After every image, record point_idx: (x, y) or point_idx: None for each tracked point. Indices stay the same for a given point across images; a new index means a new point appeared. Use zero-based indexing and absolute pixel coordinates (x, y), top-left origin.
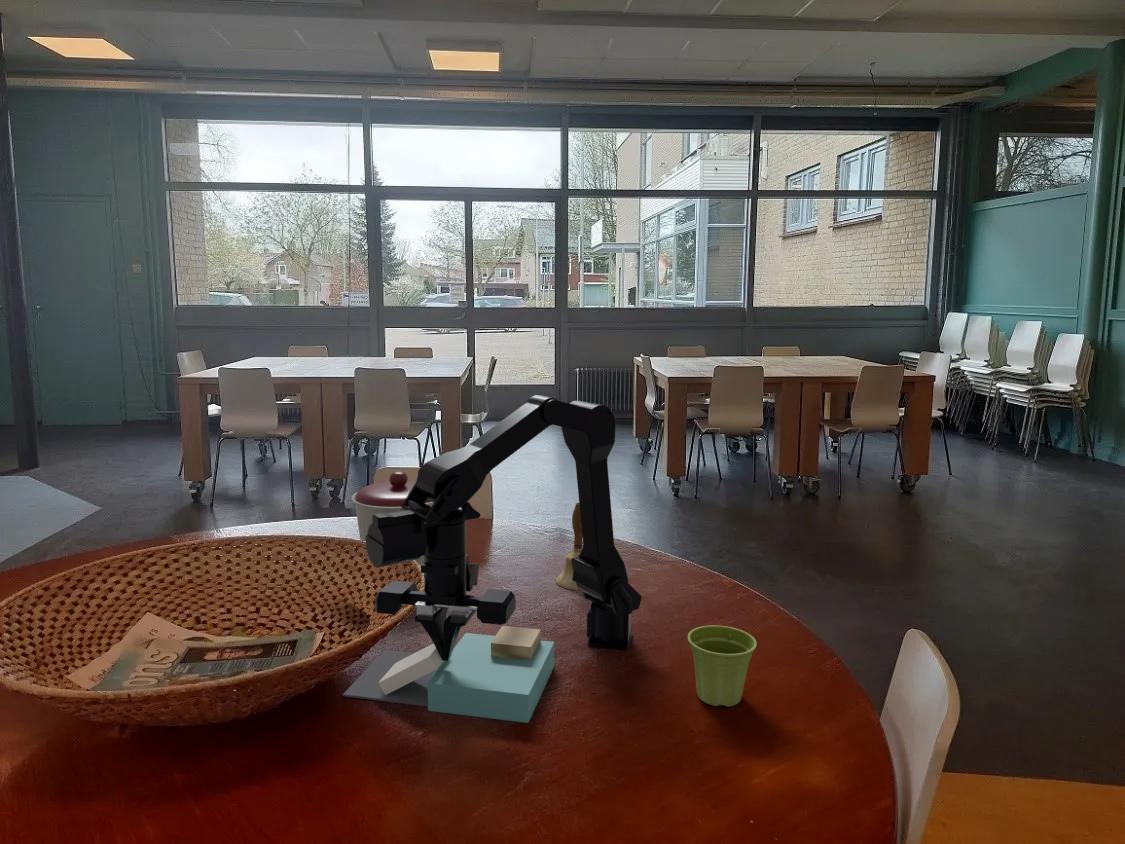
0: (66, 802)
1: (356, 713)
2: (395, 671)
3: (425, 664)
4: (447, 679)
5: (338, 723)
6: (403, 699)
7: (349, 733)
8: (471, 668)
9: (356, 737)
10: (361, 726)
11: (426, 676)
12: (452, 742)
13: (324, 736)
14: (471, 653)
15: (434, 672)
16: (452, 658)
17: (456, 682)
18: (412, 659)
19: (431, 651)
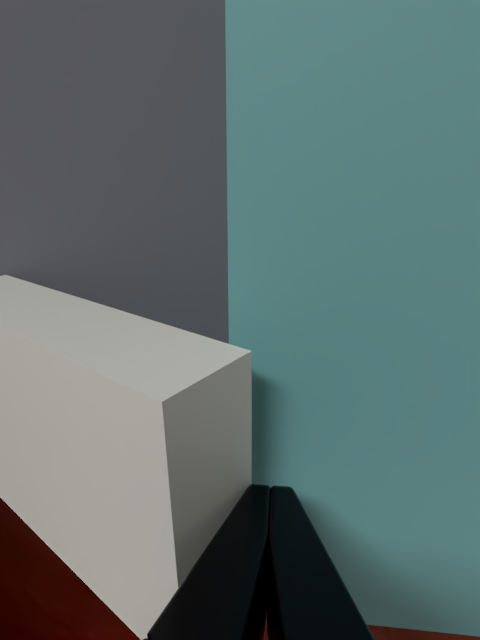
0: None
1: (18, 529)
2: (6, 475)
3: None
4: None
5: (4, 576)
6: None
7: (66, 612)
8: (443, 459)
9: (96, 625)
10: (77, 584)
11: (123, 263)
12: (388, 633)
13: (12, 625)
14: (400, 247)
15: (143, 213)
16: (272, 352)
17: (381, 596)
18: (36, 455)
19: (157, 590)
